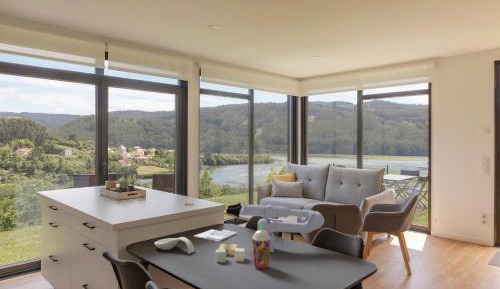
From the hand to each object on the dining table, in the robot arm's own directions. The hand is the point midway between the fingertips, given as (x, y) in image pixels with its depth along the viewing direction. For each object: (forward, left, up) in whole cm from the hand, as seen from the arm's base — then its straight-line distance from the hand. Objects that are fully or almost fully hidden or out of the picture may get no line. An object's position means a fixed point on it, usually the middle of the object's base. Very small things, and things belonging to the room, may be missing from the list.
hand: (227, 209), depth 183 cm
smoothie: (-19, +24, -21) cm, 38 cm away
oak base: (-1, +5, -21) cm, 22 cm away
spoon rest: (+28, +2, -22) cm, 36 cm away
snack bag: (+11, -26, -22) cm, 35 cm away
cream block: (-8, +15, -21) cm, 28 cm away
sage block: (+1, +17, -21) cm, 27 cm away
